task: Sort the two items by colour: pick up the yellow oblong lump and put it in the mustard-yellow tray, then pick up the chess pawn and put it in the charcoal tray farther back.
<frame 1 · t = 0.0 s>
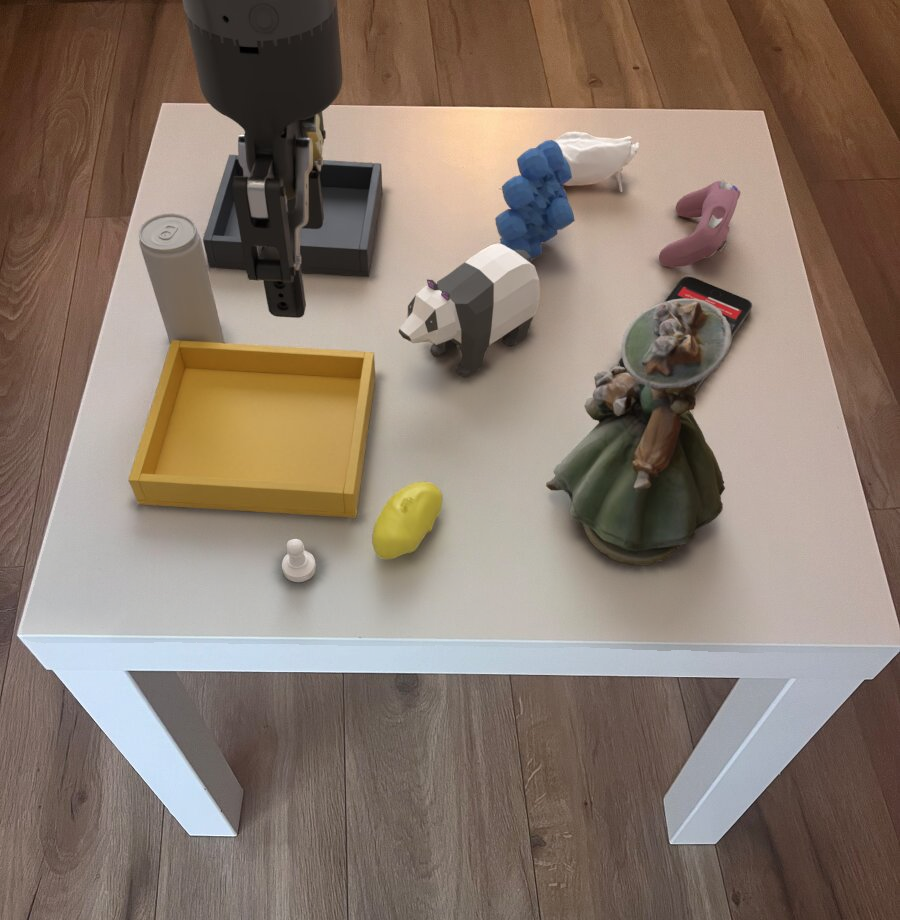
hand: (298, 267, 59), 20 cm above the table, tool pointing down, fingers open, 8 cm apart
yellow tray: (263, 438, 78), on the table
charcoal tray: (299, 227, 92), on the table
chess pawn: (299, 570, 71), on the table
bird figurine: (574, 184, 97), on the table
video game controller: (693, 246, 92), on the table
smartphone: (684, 340, 85), on the table
beverage can: (199, 346, 83), on the table
grapes: (535, 262, 91), on the table
figurine: (629, 499, 75), on the table
giant panda: (469, 351, 84), on the table
yellow oblong lump: (406, 534, 73), on the table
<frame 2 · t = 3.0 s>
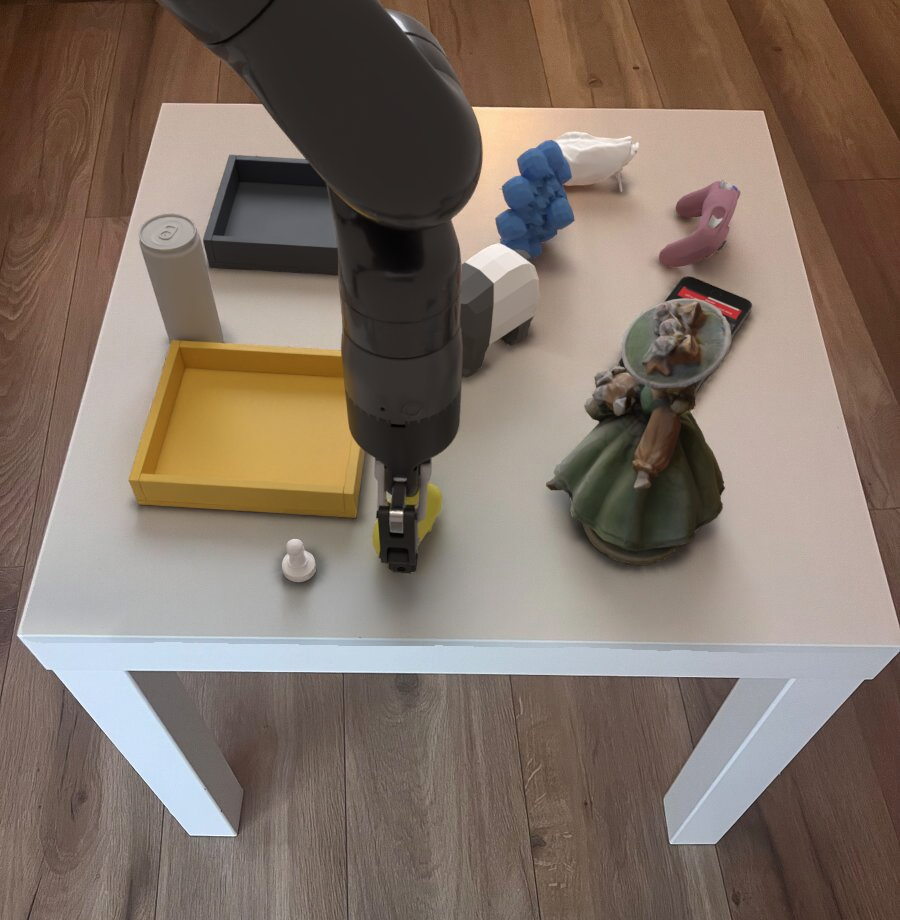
hand: (407, 526, 72), 1 cm above the table, tool pointing down, fingers closed on yellow oblong lump, 7 cm apart
yellow oblong lump: (406, 534, 73), on the table, touching gripper
everything else where it was.
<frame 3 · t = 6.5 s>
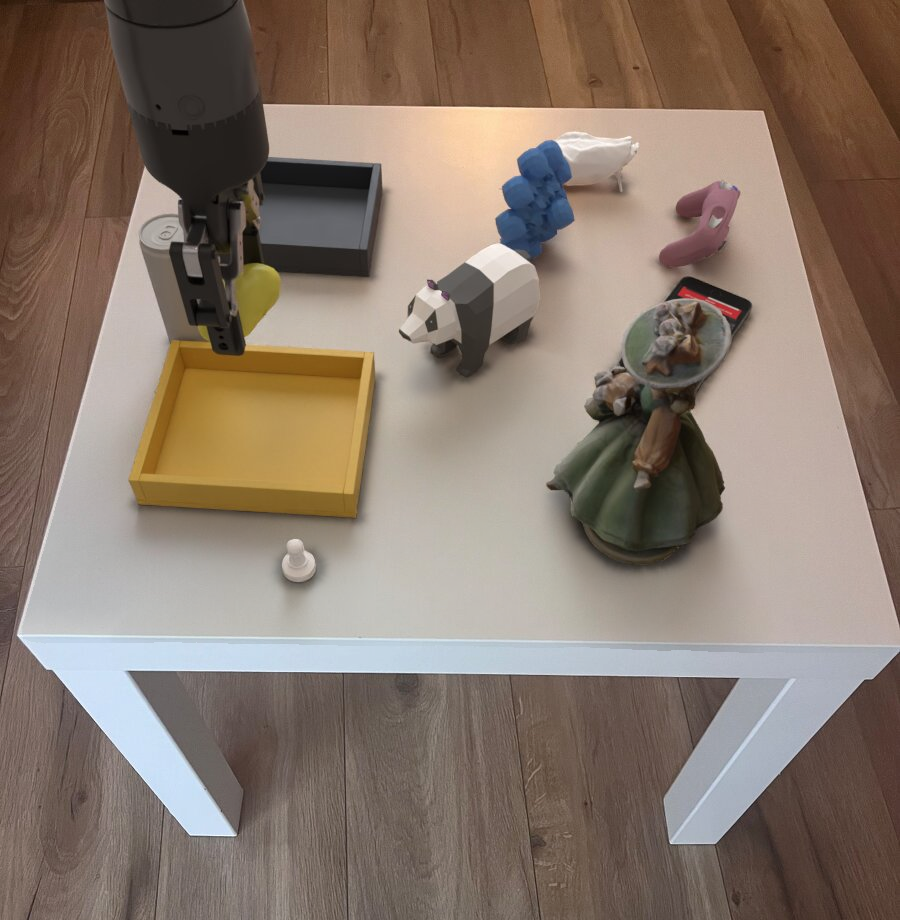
hand: (240, 312, 65), 14 cm above the table, tool pointing down, fingers closed on yellow oblong lump, 7 cm apart
yellow oblong lump: (243, 325, 66), point 13 cm above the table, touching gripper
everything else where it was.
when the fingers open (2 cm above the table, at t = 10.0 s): yellow oblong lump stays where it is, resting on yellow tray.
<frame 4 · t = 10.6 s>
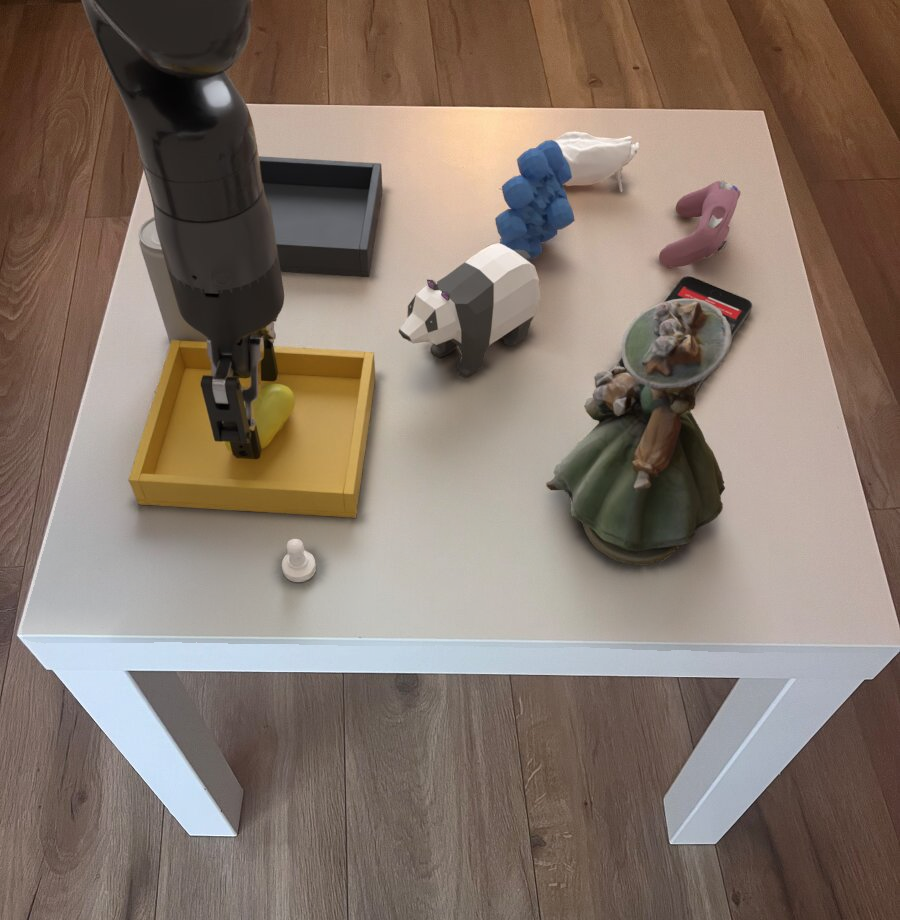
hand: (256, 415, 75), 3 cm above the table, tool pointing down, fingers open, 8 cm apart
yellow oblong lump: (262, 434, 77), resting on yellow tray
everything else where it was.
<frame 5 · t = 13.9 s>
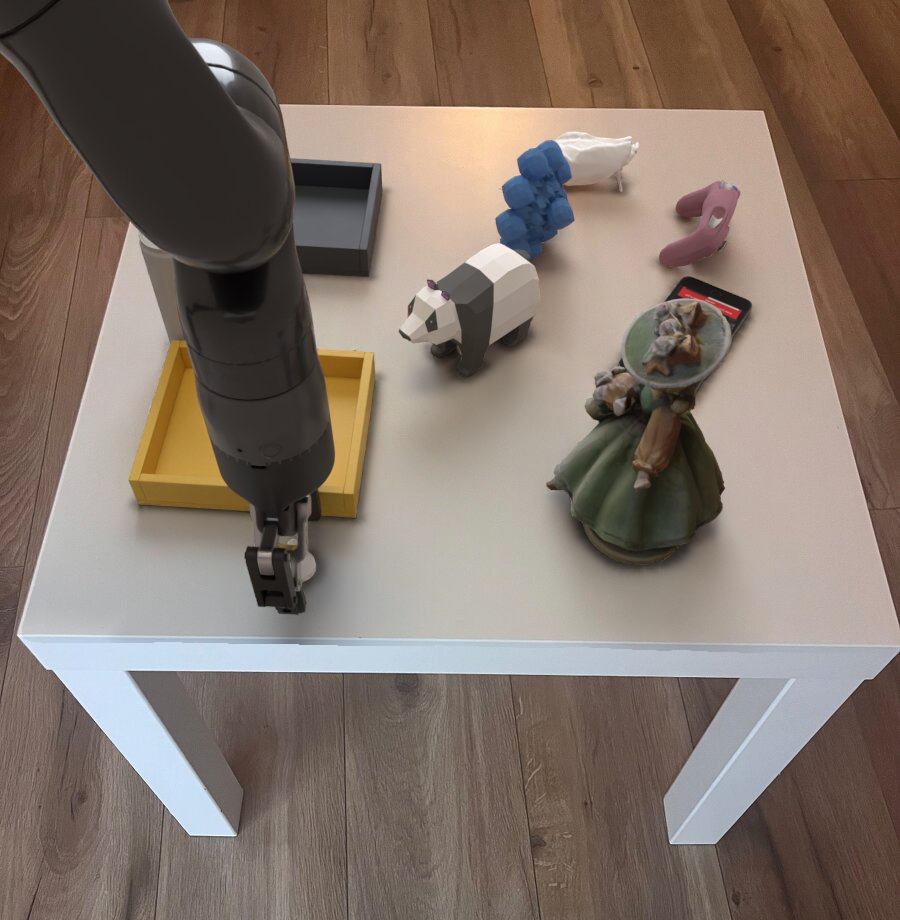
hand: (300, 561, 69), 2 cm above the table, tool pointing down, fingers open, 8 cm apart
nothing on the table moved.
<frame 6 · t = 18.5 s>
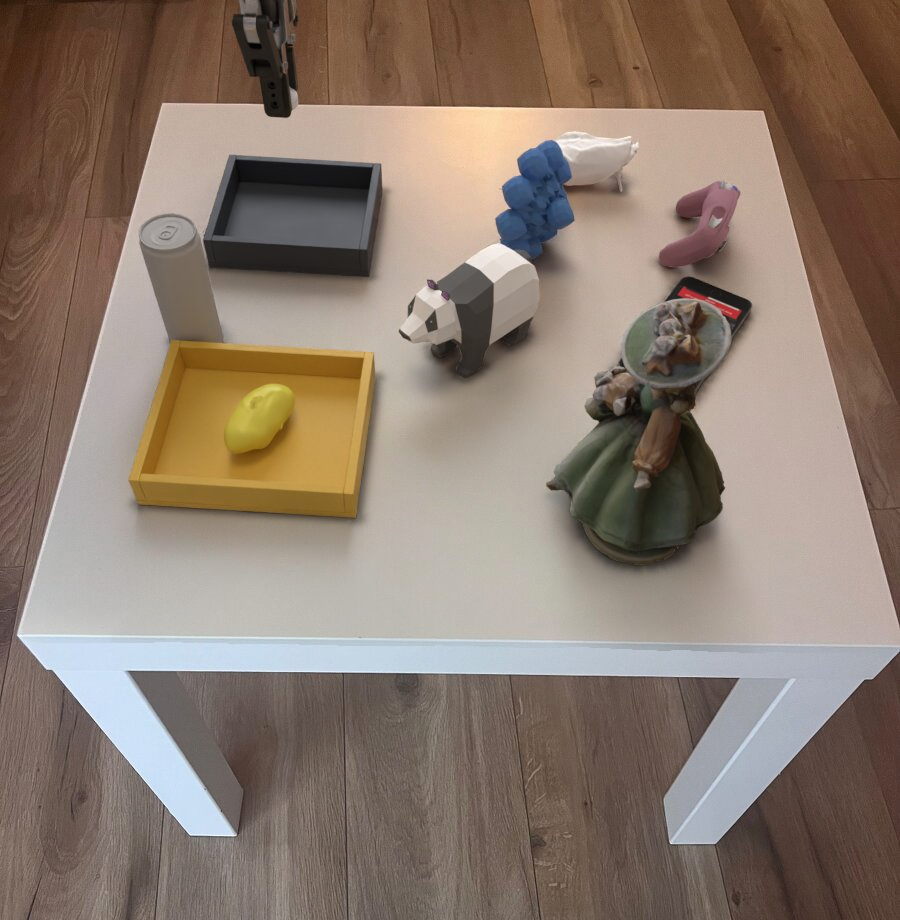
hand: (282, 103, 77), 15 cm above the table, tool pointing down, fingers closed on chess pawn, 2 cm apart
chess pawn: (283, 106, 77), point 15 cm above the table, touching gripper
everything else where it was.
when the fingers open (1 cm above the table, at t = 22.3 s): chess pawn stays where it is, resting on charcoal tray.
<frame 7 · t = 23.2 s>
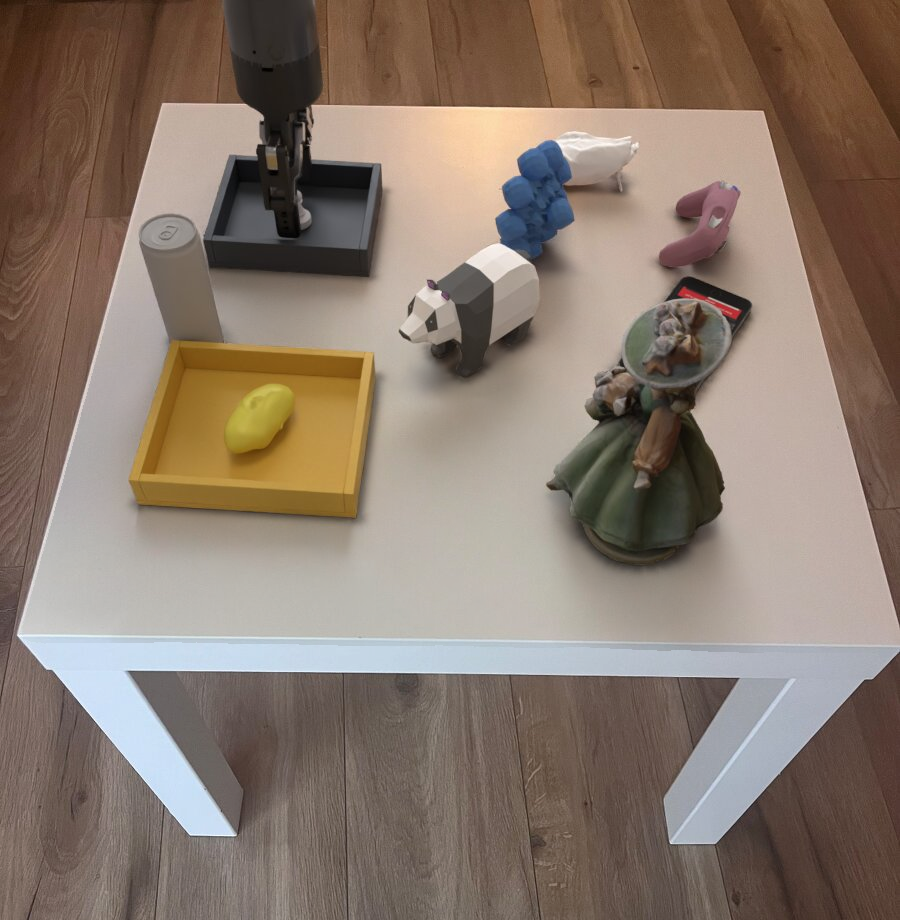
hand: (296, 208, 90), 2 cm above the table, tool pointing down, fingers open, 8 cm apart
chess pawn: (299, 224, 92), resting on charcoal tray
everything else where it was.
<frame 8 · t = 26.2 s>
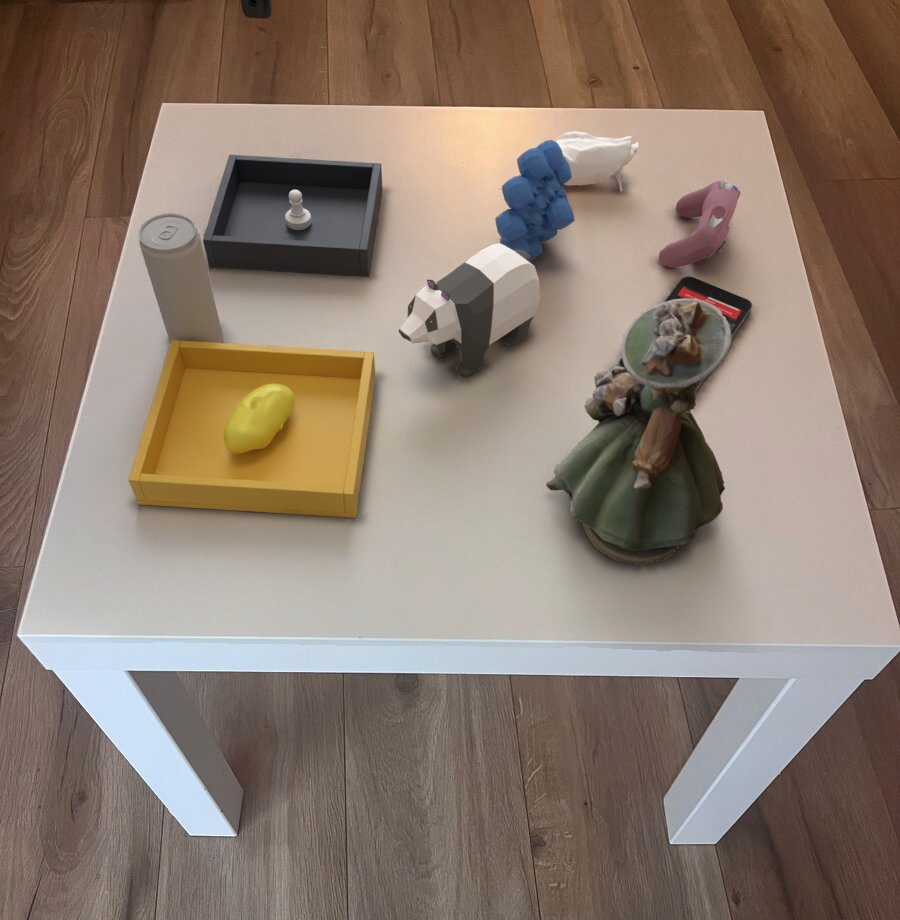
nothing on the table moved.
at the end: yellow oblong lump inside the target area in the yellow tray (0.0 cm from its centre), point 0.4 cm above the yellow tray's base; chess pawn inside the target area in the charcoal tray (0.1 cm from its centre), point 0.4 cm above the charcoal tray's base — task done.
